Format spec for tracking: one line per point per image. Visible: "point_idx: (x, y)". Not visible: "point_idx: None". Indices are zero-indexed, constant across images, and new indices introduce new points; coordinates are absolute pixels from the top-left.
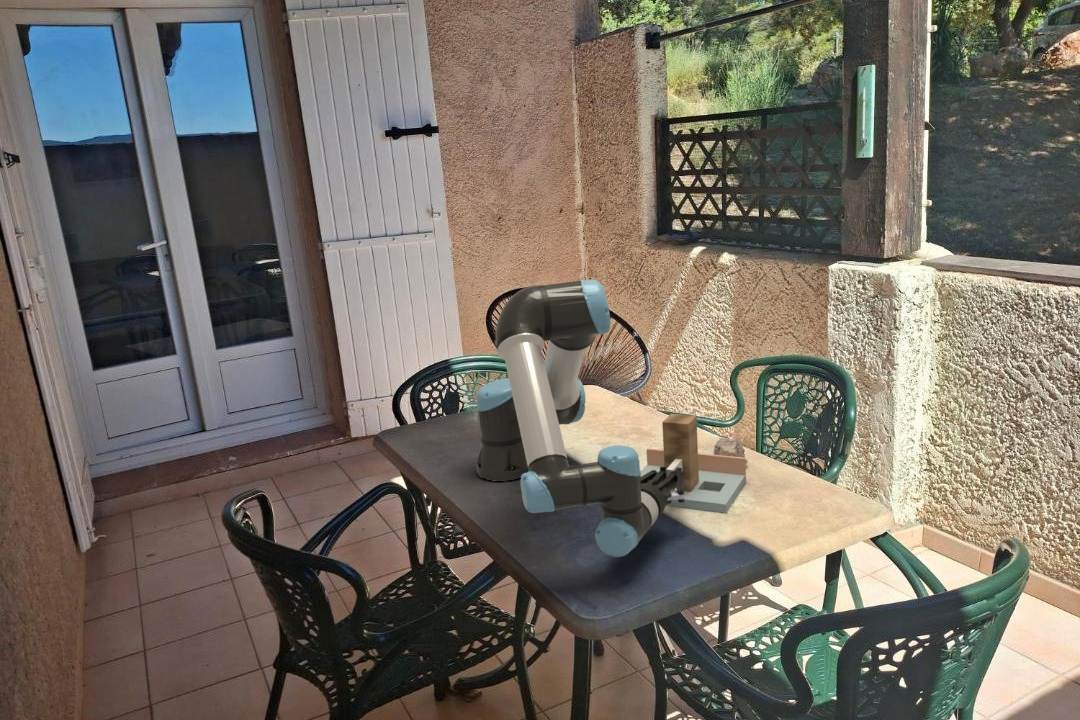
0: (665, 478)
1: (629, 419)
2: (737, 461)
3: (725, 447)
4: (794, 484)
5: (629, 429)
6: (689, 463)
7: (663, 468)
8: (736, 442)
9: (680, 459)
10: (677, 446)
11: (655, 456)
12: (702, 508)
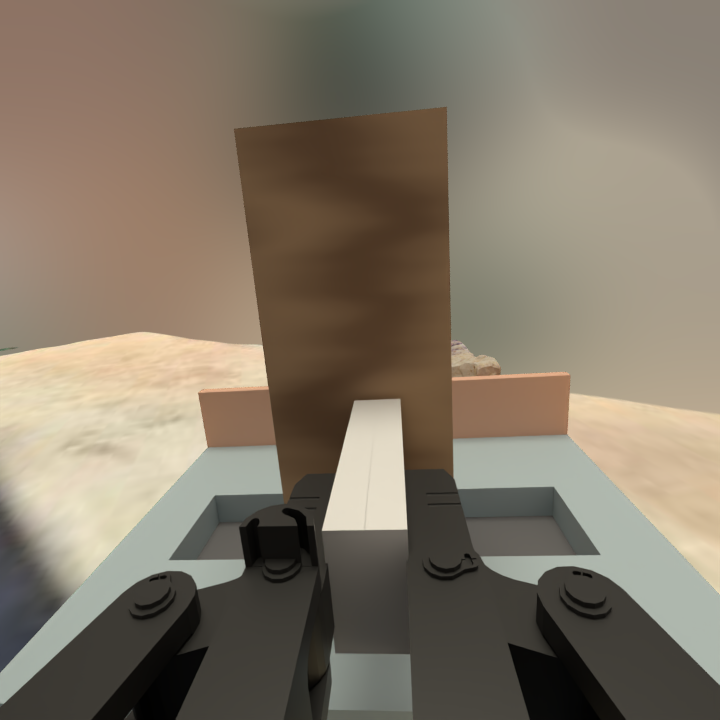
0: (325, 652)
1: (191, 357)
2: (541, 388)
3: None
4: (712, 441)
5: (186, 371)
6: (449, 419)
7: (289, 535)
8: (464, 345)
9: (390, 400)
10: (361, 311)
11: (234, 414)
12: None
